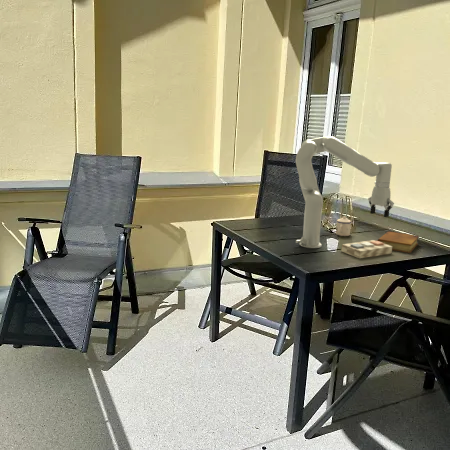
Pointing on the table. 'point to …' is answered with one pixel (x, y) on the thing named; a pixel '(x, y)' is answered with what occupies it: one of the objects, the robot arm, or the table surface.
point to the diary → (400, 241)
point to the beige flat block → (366, 250)
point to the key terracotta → (377, 243)
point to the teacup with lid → (343, 227)
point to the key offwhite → (367, 244)
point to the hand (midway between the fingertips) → (379, 215)
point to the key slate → (357, 246)
